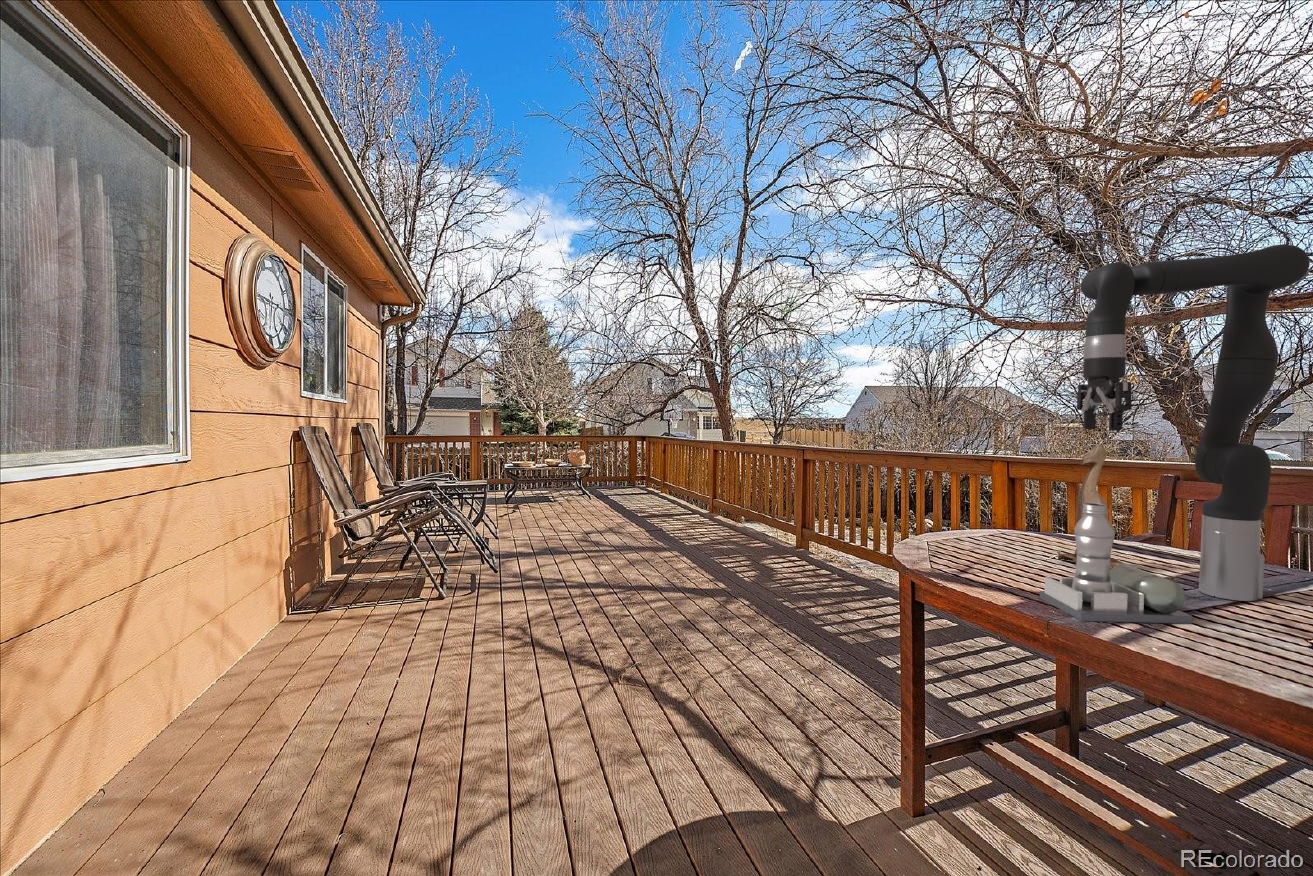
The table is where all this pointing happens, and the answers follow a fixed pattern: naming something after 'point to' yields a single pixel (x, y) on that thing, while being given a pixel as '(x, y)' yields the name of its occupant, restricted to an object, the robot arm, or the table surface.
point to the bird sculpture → (1091, 493)
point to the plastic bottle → (1093, 551)
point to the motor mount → (1122, 598)
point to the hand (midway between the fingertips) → (1101, 429)
